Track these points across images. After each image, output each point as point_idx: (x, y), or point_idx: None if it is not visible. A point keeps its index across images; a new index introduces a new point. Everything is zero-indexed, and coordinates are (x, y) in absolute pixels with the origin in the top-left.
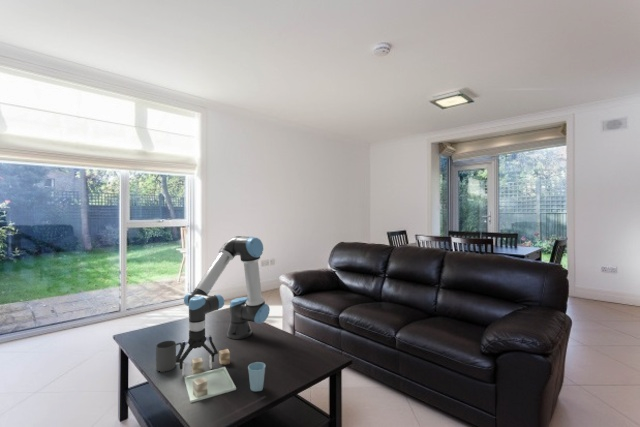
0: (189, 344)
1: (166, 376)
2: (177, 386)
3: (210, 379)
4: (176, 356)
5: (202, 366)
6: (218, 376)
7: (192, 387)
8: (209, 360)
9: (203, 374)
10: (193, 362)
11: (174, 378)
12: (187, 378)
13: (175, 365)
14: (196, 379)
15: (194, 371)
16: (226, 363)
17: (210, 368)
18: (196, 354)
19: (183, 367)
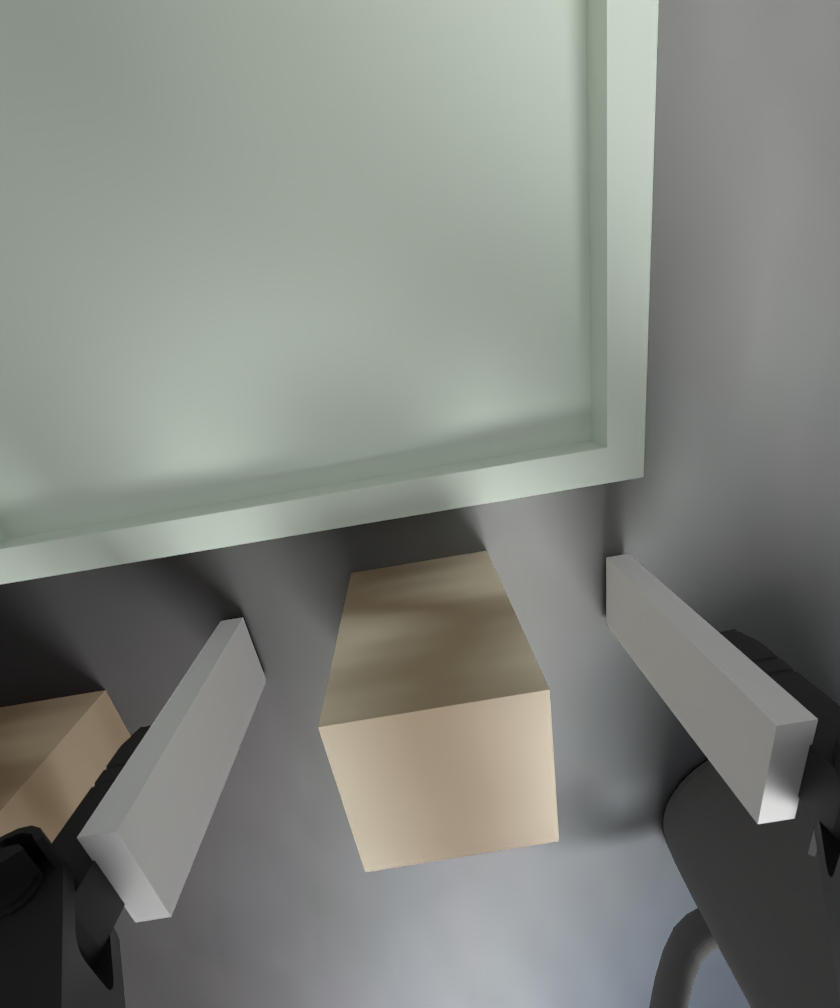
0: None
1: (802, 630)
2: (736, 296)
3: (185, 270)
4: (698, 958)
5: (341, 637)
6: (45, 337)
7: (523, 56)
8: (220, 777)
9: (330, 486)
10: (534, 725)
11: (727, 553)
12: (584, 443)
13: (676, 812)
14: (442, 374)
15: (476, 582)
16: (19, 712)
17: (234, 631)
18: (436, 950)
19: (714, 643)
